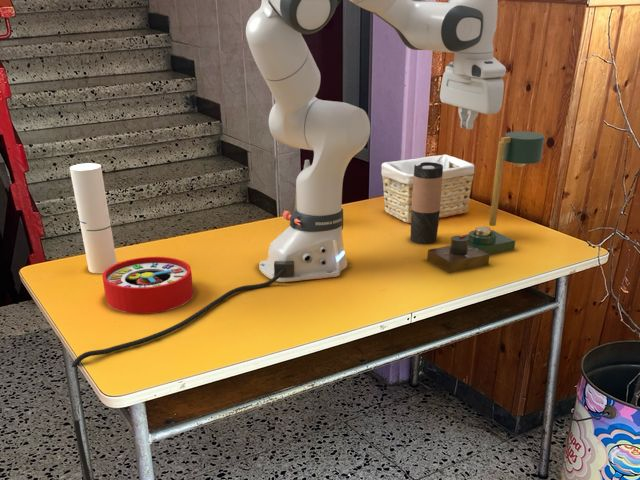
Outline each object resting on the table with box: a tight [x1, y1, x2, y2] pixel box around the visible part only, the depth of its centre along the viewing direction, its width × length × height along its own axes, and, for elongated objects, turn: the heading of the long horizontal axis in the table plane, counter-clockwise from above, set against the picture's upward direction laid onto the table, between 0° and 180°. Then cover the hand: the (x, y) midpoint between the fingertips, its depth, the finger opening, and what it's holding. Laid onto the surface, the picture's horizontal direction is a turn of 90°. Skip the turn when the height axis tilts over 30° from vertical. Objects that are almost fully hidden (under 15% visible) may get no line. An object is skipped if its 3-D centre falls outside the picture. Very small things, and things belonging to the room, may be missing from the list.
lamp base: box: [461, 229, 516, 256], centre depth 196 cm, size 12×10×4 cm
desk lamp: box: [488, 130, 546, 227], centre depth 196 cm, size 13×10×22 cm
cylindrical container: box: [69, 162, 118, 274], centre depth 180 cm, size 7×7×25 cm
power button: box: [474, 226, 492, 237], centre depth 193 cm, size 4×4×2 cm
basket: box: [380, 154, 475, 224], centre depth 220 cm, size 24×16×15 cm
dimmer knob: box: [449, 234, 469, 255], centre depth 185 cm, size 4×4×4 cm
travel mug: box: [410, 162, 443, 245], centre depth 198 cm, size 8×8×20 cm
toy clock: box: [101, 256, 195, 315], centre depth 170 cm, size 20×6×20 cm
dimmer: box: [426, 244, 491, 274], centre depth 187 cm, size 12×10×3 cm
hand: (466, 128), depth 178 cm, fingers closed
